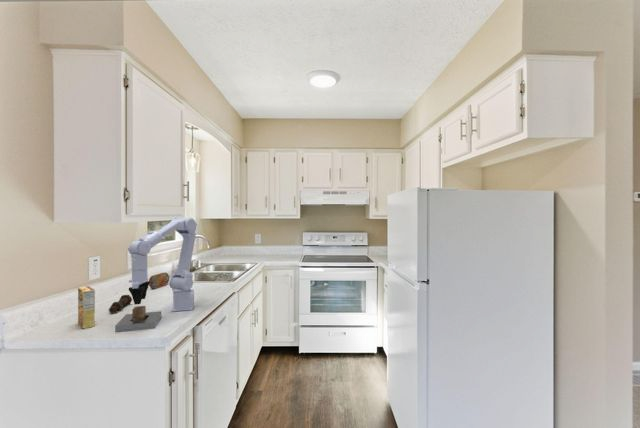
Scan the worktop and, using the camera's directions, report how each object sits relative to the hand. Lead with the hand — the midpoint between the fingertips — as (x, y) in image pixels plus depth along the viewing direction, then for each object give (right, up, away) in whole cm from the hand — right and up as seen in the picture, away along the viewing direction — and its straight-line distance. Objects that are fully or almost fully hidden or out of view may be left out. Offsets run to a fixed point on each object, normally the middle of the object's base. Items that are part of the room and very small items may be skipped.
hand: (140, 301), depth 132 cm
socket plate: (0, -9, 0) cm, 9 cm away
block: (0, -9, 0) cm, 9 cm away
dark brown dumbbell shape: (-21, -10, +20) cm, 30 cm away
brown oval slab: (-24, -9, +62) cm, 67 cm away
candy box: (-21, -10, -2) cm, 24 cm away
